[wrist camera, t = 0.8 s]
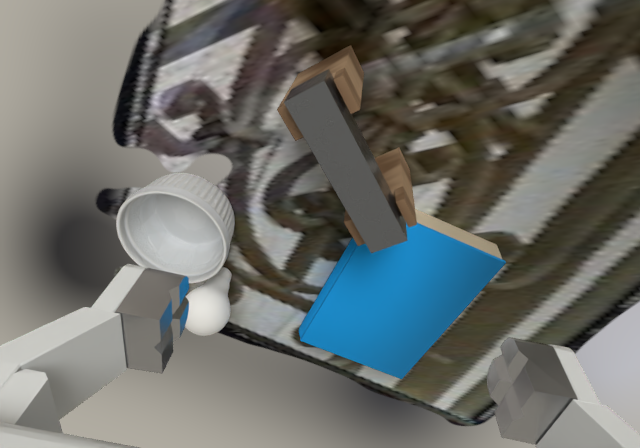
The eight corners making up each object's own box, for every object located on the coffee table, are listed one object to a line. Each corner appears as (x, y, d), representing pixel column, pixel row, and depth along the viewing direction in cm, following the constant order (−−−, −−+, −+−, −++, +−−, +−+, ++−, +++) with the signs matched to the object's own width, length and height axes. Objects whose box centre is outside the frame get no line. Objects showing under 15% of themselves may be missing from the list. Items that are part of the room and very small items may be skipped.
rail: (328, 68, 35) (324, 80, 32) (405, 219, 42) (407, 240, 39) (291, 88, 36) (283, 102, 33) (371, 231, 43) (371, 253, 40)
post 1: (350, 45, 42) (342, 75, 33) (363, 72, 44) (359, 109, 34) (298, 73, 44) (277, 109, 35) (312, 99, 46) (295, 140, 36)
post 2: (399, 147, 48) (404, 198, 38) (409, 169, 49) (416, 224, 39) (350, 168, 50) (343, 222, 40) (361, 189, 51) (358, 246, 42)
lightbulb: (204, 248, 59) (172, 305, 50) (248, 259, 59) (224, 317, 50) (201, 280, 62) (171, 339, 53) (243, 290, 62) (220, 351, 53)
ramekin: (125, 210, 57) (96, 240, 51) (173, 141, 51) (146, 167, 45) (209, 266, 61) (191, 300, 55) (263, 208, 54) (249, 240, 48)
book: (507, 261, 50) (403, 381, 64) (498, 240, 54) (402, 358, 67) (374, 205, 48) (296, 342, 61) (374, 187, 52) (300, 320, 65)
